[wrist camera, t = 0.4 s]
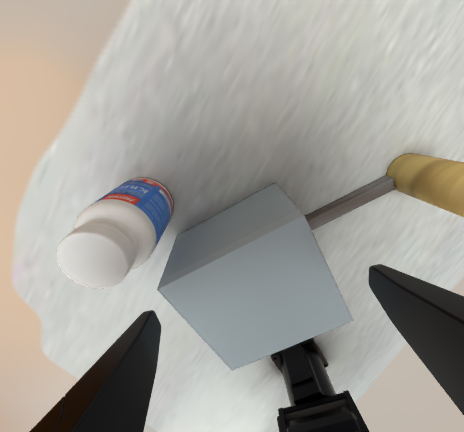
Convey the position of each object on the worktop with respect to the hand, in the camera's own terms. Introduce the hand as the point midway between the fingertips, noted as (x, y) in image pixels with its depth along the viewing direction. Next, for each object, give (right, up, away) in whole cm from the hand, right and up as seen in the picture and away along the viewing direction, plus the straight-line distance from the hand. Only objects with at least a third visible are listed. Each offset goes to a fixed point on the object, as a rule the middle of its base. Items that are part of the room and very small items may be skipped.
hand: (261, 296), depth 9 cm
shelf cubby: (+1, 0, +15) cm, 15 cm away
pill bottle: (-10, +5, +13) cm, 17 cm away
